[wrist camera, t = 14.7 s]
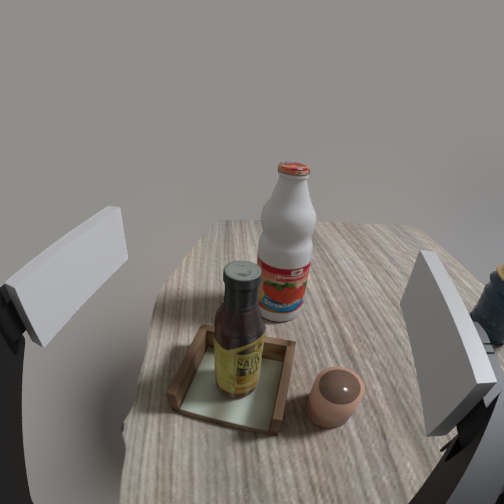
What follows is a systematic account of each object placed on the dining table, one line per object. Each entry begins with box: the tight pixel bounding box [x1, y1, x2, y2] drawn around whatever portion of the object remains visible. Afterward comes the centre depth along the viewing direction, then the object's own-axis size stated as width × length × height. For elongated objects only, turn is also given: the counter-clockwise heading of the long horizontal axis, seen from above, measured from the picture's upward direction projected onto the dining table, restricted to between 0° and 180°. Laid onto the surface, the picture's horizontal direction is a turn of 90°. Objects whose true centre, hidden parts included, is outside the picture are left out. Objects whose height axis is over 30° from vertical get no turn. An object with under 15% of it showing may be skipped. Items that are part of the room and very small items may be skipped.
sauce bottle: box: [214, 261, 266, 398], centre depth 35 cm, size 6×6×20 cm
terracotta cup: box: [306, 367, 364, 428], centre depth 36 cm, size 7×7×6 cm
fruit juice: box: [257, 162, 316, 322], centre depth 51 cm, size 9×9×28 cm
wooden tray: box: [167, 324, 296, 436], centre depth 40 cm, size 15×14×5 cm
